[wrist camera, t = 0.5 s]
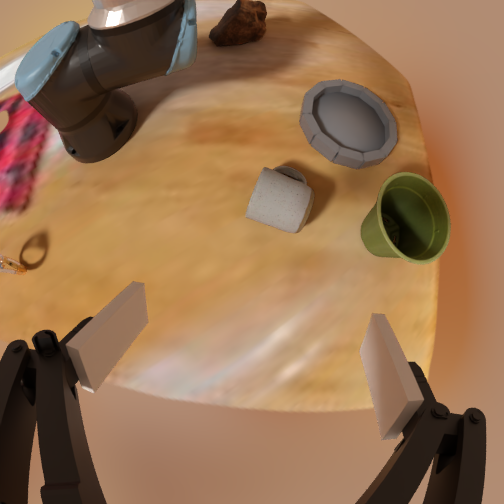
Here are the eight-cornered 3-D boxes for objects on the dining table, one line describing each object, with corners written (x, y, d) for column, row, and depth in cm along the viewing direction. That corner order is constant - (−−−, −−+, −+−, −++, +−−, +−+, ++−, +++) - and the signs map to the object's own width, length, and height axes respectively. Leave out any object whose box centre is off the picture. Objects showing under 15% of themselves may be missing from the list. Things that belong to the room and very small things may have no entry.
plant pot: (401, 197, 42) (439, 173, 31) (413, 266, 40) (457, 258, 29) (339, 199, 41) (368, 170, 30) (351, 275, 40) (386, 269, 29)
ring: (36, 266, 39) (7, 261, 31) (31, 282, 38) (2, 280, 30) (16, 251, 39) (-11, 245, 31) (12, 267, 38) (-16, 262, 30)
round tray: (285, 96, 44) (287, 86, 41) (362, 86, 45) (367, 77, 42) (325, 178, 42) (330, 170, 39) (404, 158, 43) (412, 151, 40)
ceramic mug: (295, 241, 40) (307, 229, 33) (244, 222, 40) (244, 207, 33) (314, 180, 42) (327, 158, 35) (266, 163, 42) (270, 138, 35)
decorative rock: (261, 29, 47) (263, -7, 36) (270, 43, 46) (274, 5, 35) (208, 37, 46) (203, 1, 35) (213, 52, 45) (209, 13, 35)
